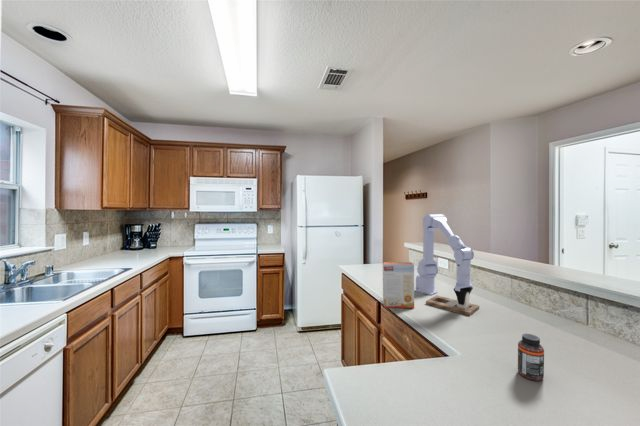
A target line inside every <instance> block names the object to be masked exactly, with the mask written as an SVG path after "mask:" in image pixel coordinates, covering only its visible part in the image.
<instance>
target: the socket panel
mask: <svg viewBox="0 0 640 426" xmlns="http://www.w3.org/2000/svg"><path fill="white" fill-rule="evenodd" d="M425 305H428V306H432V307H436V308H439V309H442V310H446V311H450V312H453V313H457V314H460V315H464V316H467V317H471V316H472V315H473V314H475V313H476V312H478V310H480V305H478V304H474V303H470V302H469V309H468V310H467V309H463V308H459V307H457V299H454V298H449V297H445V296H442V295H435V296H433V297H431V298H429V299H427V300H425Z"/></svg>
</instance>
